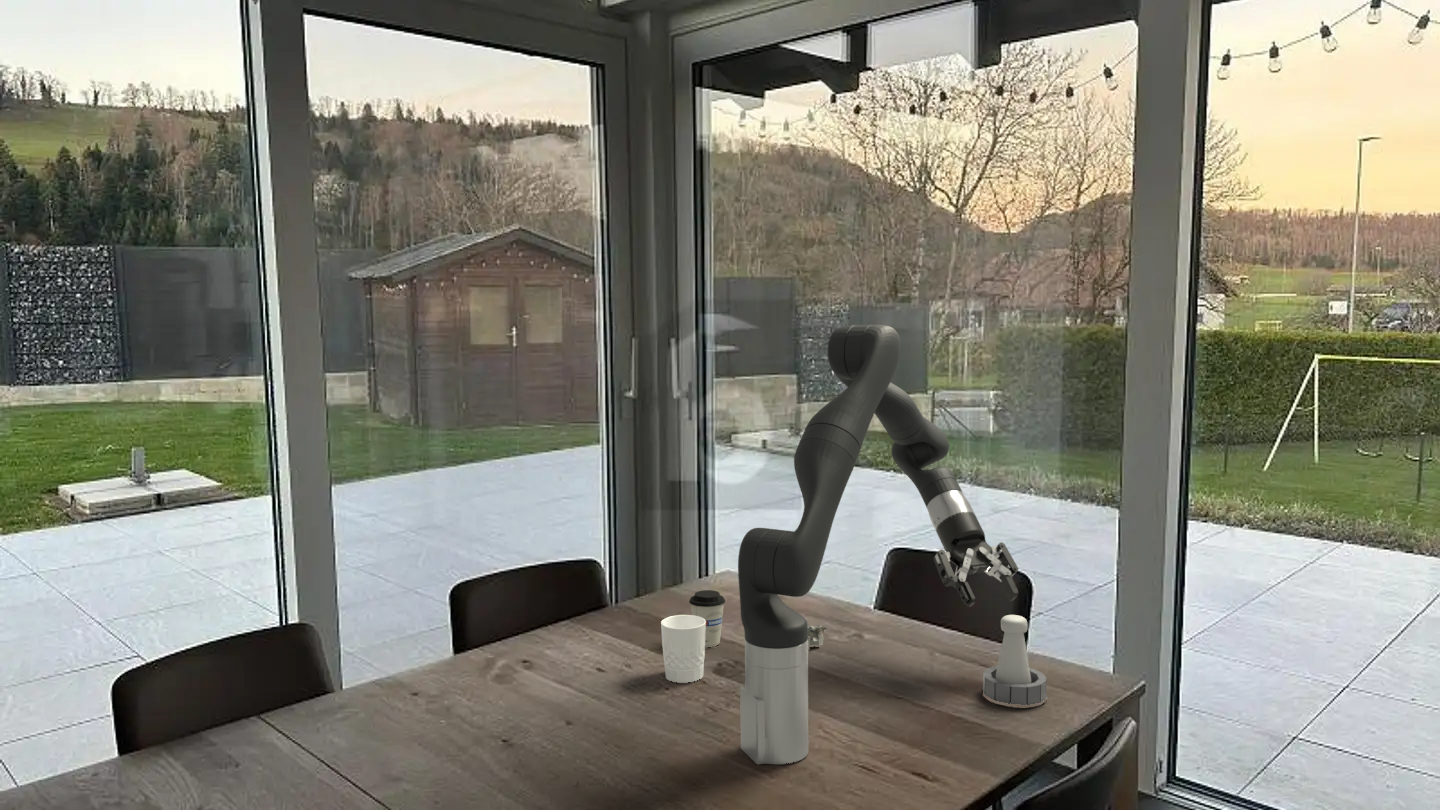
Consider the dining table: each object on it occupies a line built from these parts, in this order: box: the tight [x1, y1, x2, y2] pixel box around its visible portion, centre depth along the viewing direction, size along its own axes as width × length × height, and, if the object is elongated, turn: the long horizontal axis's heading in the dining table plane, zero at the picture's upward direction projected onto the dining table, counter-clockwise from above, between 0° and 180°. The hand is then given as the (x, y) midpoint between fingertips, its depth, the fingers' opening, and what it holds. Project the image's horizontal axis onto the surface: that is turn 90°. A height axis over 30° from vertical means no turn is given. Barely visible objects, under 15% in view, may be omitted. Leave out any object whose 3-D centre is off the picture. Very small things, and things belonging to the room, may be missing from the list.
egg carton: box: [808, 624, 827, 649], centre depth 201 cm, size 11×8×4 cm
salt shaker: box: [995, 614, 1031, 684], centre depth 173 cm, size 6×6×13 cm
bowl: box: [982, 665, 1048, 705], centre depth 173 cm, size 10×10×4 cm
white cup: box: [660, 614, 706, 684], centre depth 184 cm, size 8×8×10 cm
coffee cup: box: [688, 589, 726, 647], centre depth 201 cm, size 7×7×10 cm
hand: (993, 601), depth 178 cm, fingers open, 8 cm apart
